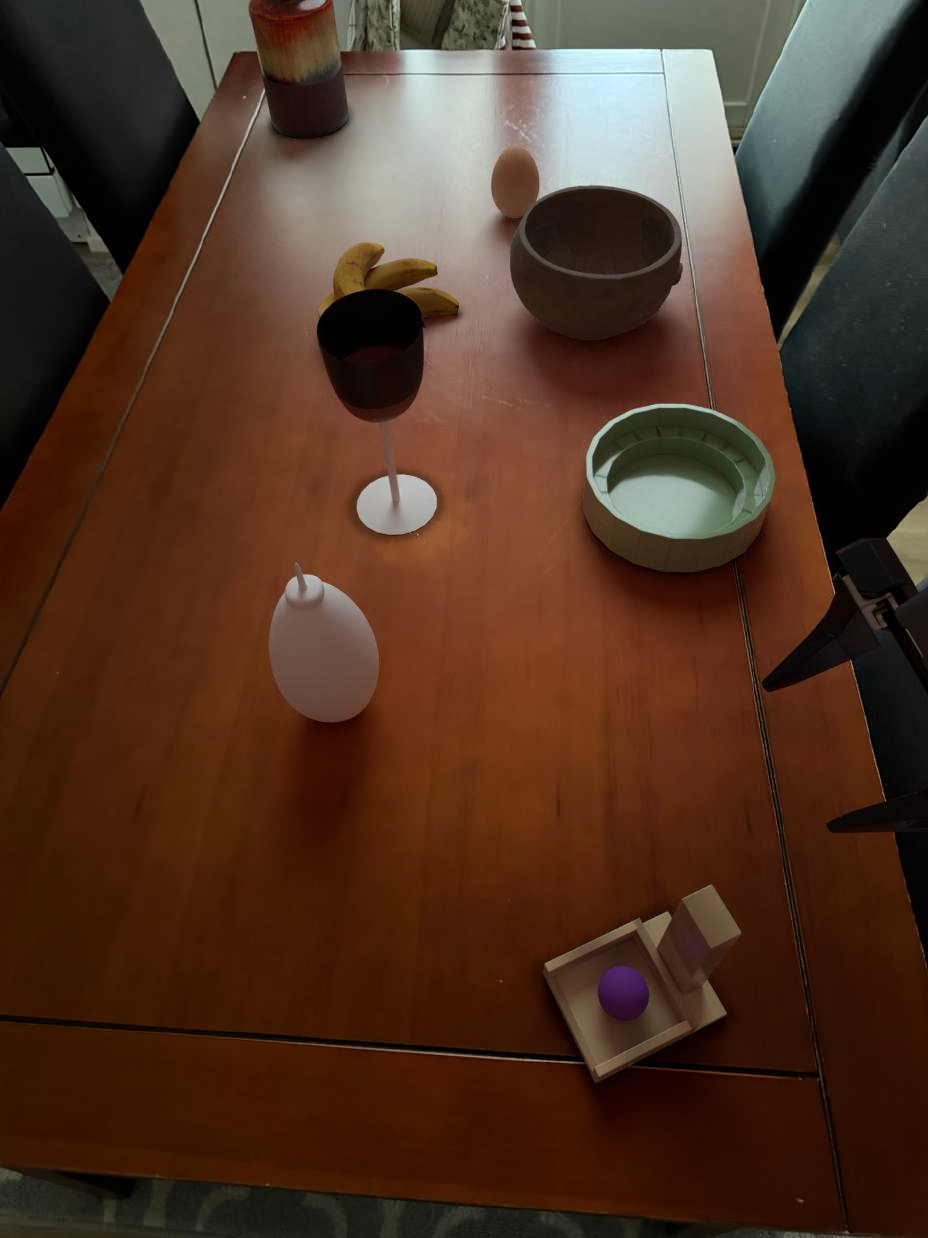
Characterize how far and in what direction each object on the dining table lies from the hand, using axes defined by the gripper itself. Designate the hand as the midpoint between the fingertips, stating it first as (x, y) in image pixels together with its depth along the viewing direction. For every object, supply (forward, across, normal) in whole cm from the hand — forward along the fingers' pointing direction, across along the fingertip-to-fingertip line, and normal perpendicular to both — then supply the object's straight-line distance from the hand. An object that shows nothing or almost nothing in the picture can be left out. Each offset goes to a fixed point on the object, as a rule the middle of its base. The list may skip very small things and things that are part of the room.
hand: (794, 754), depth 52 cm
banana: (+21, -64, +4) cm, 67 cm away
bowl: (+2, -61, +16) cm, 63 cm away
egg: (+6, -81, +14) cm, 82 cm away
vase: (+24, -112, +2) cm, 114 cm away
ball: (+16, +8, +4) cm, 19 cm away
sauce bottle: (+30, -18, -2) cm, 36 cm away
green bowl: (+3, -32, +15) cm, 35 cm away
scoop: (+17, +8, +7) cm, 20 cm away
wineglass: (+24, -38, +2) cm, 45 cm away
